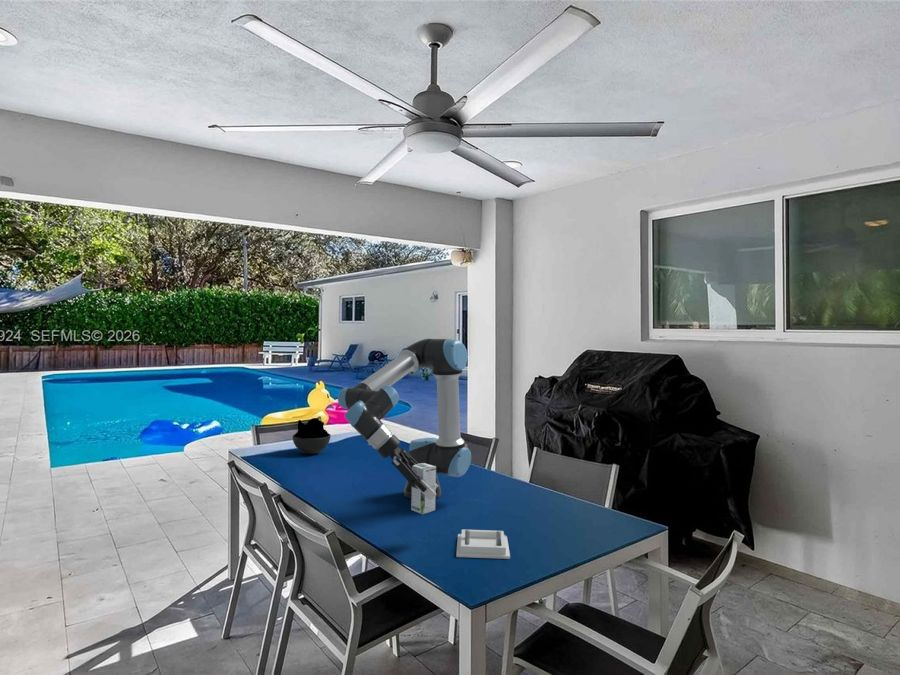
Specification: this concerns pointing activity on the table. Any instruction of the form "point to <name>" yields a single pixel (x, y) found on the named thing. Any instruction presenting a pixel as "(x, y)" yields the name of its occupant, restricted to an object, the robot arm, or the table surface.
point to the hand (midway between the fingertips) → (434, 493)
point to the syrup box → (418, 498)
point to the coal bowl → (311, 436)
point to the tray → (483, 544)
